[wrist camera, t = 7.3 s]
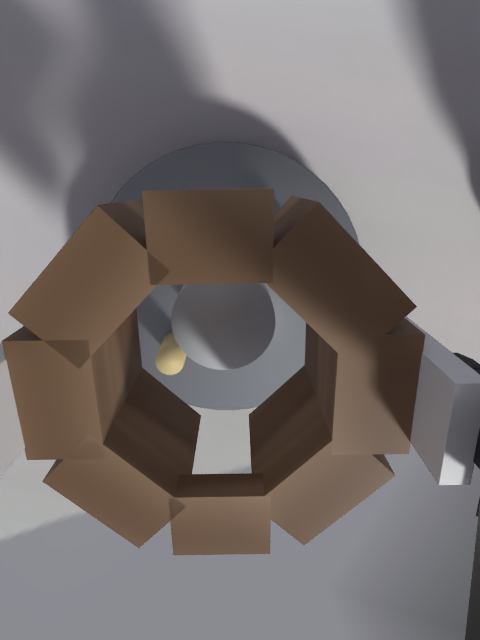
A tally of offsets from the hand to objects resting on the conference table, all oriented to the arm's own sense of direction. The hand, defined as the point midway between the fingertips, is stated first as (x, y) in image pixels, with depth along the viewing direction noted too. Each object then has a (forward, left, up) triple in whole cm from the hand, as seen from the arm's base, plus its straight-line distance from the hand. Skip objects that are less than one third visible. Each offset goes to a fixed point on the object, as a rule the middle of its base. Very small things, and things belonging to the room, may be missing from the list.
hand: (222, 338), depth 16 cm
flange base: (0, 0, -10) cm, 10 cm away
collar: (0, 0, 0) cm, 0 cm away
